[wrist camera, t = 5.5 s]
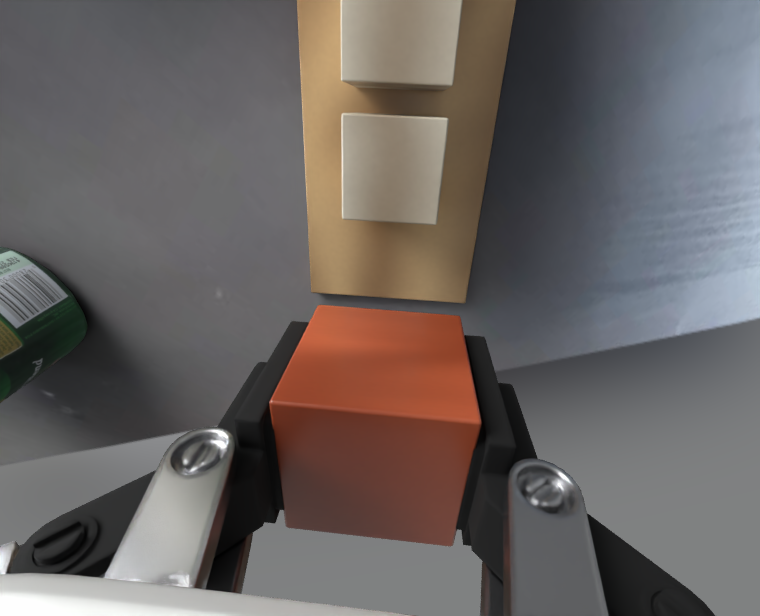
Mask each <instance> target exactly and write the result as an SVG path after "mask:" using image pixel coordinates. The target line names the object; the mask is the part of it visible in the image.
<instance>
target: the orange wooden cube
mask: <svg viewBox="0 0 760 616" xmlns="http://www.w3.org/2000/svg"><path fill="white" fill-rule="evenodd" d="M269 405H270V412H271V420H272V427H273V429H274V435H275V442H276V450H277V457H278V465H279V472H280V480H281V487H282V495H283V502H284V516H285V523H286V527H288V528H295V529H303V530H312V531H321V532H329V533H338V534H347V535H356V536H364V537H373V538H381V539H390V540H399V541H408V542H416V543H425V544H433V545H442V546H453V543H454V539H455V535H456V531H457V529H456V525H457V521H458V516H459V512H460V508H461V503H462V499H463V495H464V490H465V486H466V481H467V477H468V473H469V468H470V464H471V460H472V455H473V451H474V449H475V448H476V445H477V441H478V437H479V432H480V428H481V424H482V421H481V416H480V411H479V406H478V401H477V396H476V392H475V387H474V382H473V377H472V372H471V367H470V362H469V357H468V352H467V347H466V342H465V337H464V332H463V327H462V322H461V318H460V316H455V315H443V314H430V313H417V312H404V311H392V310H379V309H366V308H354V307H341V306H328V305H318V307H317V309H316V310H315V312H314V314H313V316H312V318H311V320H310V322H309V324H308V326H307V328H306V330H305V332H304V334H303V336H302V338H301V340H300V342H299V344H298V346H297V348H296V350H295V352H294V354H293V356H292V358H291V360H290V362H289V364H288V366H287V368H286V370H285V372H284V374H283V376H282V378H281V380H280V382H279V384H278V386H277V388H276V390H275V392H274V394H273V396H272V398H271V400H270V402H269Z"/></svg>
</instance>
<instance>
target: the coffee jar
mask: <svg viewBox="0 0 760 616" xmlns="http://www.w3.org/2000/svg"><path fill="white" fill-rule="evenodd" d="M87 327H88V326H87V322H86V319H85V315H84V313H83V311H82V309H81V308H80V306H79V304H78V303H77V301H76V299H75V297H74V295H73V294H72V293H71V292H70V290H69V289H68V288H67V287H66V286H65V285H64V284H63V283H62V282H61V281H60V280H59V279H58V278H57V277H56V276H55V275H54V274H53V273H52V272H50V271H49V270H48V269H47V268H45V267H43V266H42V265H40V264H39V263H37V262H35V261H34V260H33V259H31V258H29V257H27V256H26V255H24V254H22V253H20V252H17V251H15V250H12V249H9V248H3V247H0V403H1V402H2V401H3V400H5V399H6V398H8V397H9V396H10V395H12V394H13V393H15V392H16V391H17V390H19V389H20V388H21V387H23V386H24V385H26V384H27V383H29V382H30V381H31V380H33V379H34V378H35V377H37V376H38V375H40V374H41V373H42V372H44V371H45V370H46V369H48V368H49V367H50V366H52V365H53V364H55V363H56V362H57V361H59V360H60V359H61V358H63V357H64V356H65V355H67V354H68V353H69V352H71V351H72V350H73V349H74V348H75V347H76V346H77V345H78V344H79V343H80V342H81V341H82V340H83V338H84V337H85V334H86V331H87Z"/></svg>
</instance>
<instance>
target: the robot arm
mask: <svg viewBox="0 0 760 616" xmlns="http://www.w3.org/2000/svg"><path fill="white" fill-rule="evenodd" d="M308 324H309V323H308V322H296V321H292V322H291V323H290V325H289V326H288V328H287V330H286V331H285V333H284V335H283V336H282V338H281V340H280V342H279V343H278V345H277V347H276V348H275V350H274V352H273V353H272V355H271V357H270V358H269V360H268V362H267V363H266V362H259V363H258V364H257V365H256V366H255V367H254V369H253V371H252V372H251V374H250V375H249V377H248V379H247V380H246V382H245V383H244V385H243V387H242V388H241V390H240V391H239V393H238V395H237V396H236V398H235V399H234V401H233V402H232V404H231V406H230V407H229V409H228V410H227V412H226V414H225V415H224V417H223V418H222V420H221V422H220V423H219V425H218V426H217V427H204V428H198V429H196V430H193V431H190V432H188V433H186V434H184V435H183V436H181V437H179V438H178V439H177V440H176V441H174V443H172V444H171V445H170V447H169V448H168V449H167V451H166V452H165V454H164V456H163V458H162V460H161V462H160V464H159V466H158V468H157V470H156V471H153V472H151V473H149V474H147V475H145V476H143V477H141V478H139V479H137V480H134V481H132V482H131V483H128V484H126V485H124V486H122V487H120V488H118V489H116V490H114V491H111V492H109V493H107V494H105V495H103V496H101V497H99V498H97V499H95V500H93V501H90V502H88V503H86V504H84V505H82V506H80V507H78V508H76V509H74V510H72V511H70V512H67V513H65V514H63V515H61V516H59V517H57V518H56V519H54V520H52V521H50V522H49V523H47V524H45V525H44V526H43V527H42V528H40V529H39V530H38V531H37V532H35V533H34V534H33V535H32V536H31V537H30V538H29V539H28V540H27V541H26V542H25V543H24V544H23V545H20V546H19V545H18V544H17V542H16V541H13V542H11V543H8V544H5V545H2V546H0V616H414V615H406V614H398V613H390V612H382V611H374V610H367V609H359V608H351V607H343V606H335V605H327V604H319V603H311V602H302V601H294V600H287V599H279V598H271V597H263V596H255V595H247V594H241V593H242V588H243V583H244V578H245V573H246V568H247V563H248V557H249V552H250V547H251V542H252V536H253V532H254V531H256V530H257V529H259V528H260V527H262V526H263V524H264V522H268V523H275V522H276V519H277V517H278V513H279V511H280V510H284V502H283V495H282V487H281V480H280V472H279V465H278V457H277V450H276V442H275V435H274V429H273V427H272V420H271V412H270V405H269V402H270V400H271V398H272V396H273V394H274V392H275V390H276V388H277V386H278V384H279V382H280V380H281V378H282V376H283V374H284V372H285V370H286V368H287V366H288V364H289V362H290V360H291V358H292V356H293V354H294V352H295V350H296V348H297V346H298V344H299V342H300V340H301V338H302V336H303V334H304V332H305V330H306V328H307V326H308ZM464 337H465V342H466V347H467V352H468V357H469V362H470V367H471V372H472V377H473V382H474V387H475V392H476V396H477V401H478V406H479V411H480V416H481V421H482V424H481V428H480V432H479V437H478V441H477V445H476V448H475V449H474V451H473V455H472V460H471V464H470V468H469V473H468V477H467V481H466V486H465V490H464V495H463V499H462V503H461V508H460V512H459V516H458V521H457V525H456V529H459V530H462V539H463V545H469V546H472V551H473V552H474V553H475V554H476V555H477V556H478V557H479V558H480V559H481V560H482V561H483V562H482V581H481V604H480V616H715V615H714V614H713V612H712V611H711V610H710V609H709V608H708V607H707V605H706V604H705V603H704V602H703V601H702V600H701V599H700V598H698V597H697V596H696V595H695V594H693V592H692V591H690V590H689V589H688V588H686V587H685V586H684V585H682V584H681V583H680V582H678V581H677V580H676V579H674V578H673V577H672V576H670V575H669V574H668V573H666V572H665V571H663V570H662V569H661V568H660V567H658V566H657V565H656V564H654V563H653V562H652V561H650V560H649V559H647V558H646V557H645V556H644V555H642V554H641V553H639V552H638V551H637V550H635V549H634V548H633V547H632V546H630V545H629V544H628V543H626V542H625V541H624V540H622V539H621V538H620V537H618V536H617V535H615V534H614V533H613V532H612V531H610V530H609V529H608V528H606V527H605V526H604V525H602V524H601V523H599V522H598V521H597V520H595V519H594V518H593V517H591V516H590V515H589V514H587V512H586V507H585V503H584V498H583V496H582V493H581V490H580V488H579V486H578V485H577V483H576V482H575V481H574V480H573V478H572V477H571V476H570V475H569V474H567V473H566V472H565V471H564V470H563V469H561V468H559V467H557V466H556V465H554V464H553V463H550V462H547V461H544V460H540V459H537V455H536V452H535V449H534V447H533V444H532V441H531V438H530V435H529V432H528V429H527V426H526V423H525V420H524V417H523V414H522V411H521V408H520V405H519V403H518V400H517V397H516V394H515V391H514V388H513V386H512V385H511V384H503V383H498V381H497V378H496V374H495V371H494V367H493V364H492V360H491V357H490V354H489V350H488V347H487V343H486V340H485V337H481V336H468V335H465V336H464Z"/></svg>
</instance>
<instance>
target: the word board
mask: <svg viewBox="0 0 760 616" xmlns="http://www.w3.org/2000/svg"><path fill="white" fill-rule="evenodd" d="M515 4H516V0H297V10H298V31H299V51H300V71H301V92H302V112H303V132H304V153H305V173H306V193H307V214H308V234H309V254H310V275H311V292H313V293H327V294H341V295H355V296H369V297H384V298H398V299H412V300H426V301H440V302H455V303H465V301H466V295H467V289H468V283H469V277H470V271H471V265H472V260H473V254H474V248H475V242H476V236H477V230H478V224H479V218H480V212H481V206H482V200H483V194H484V188H485V182H486V176H487V170H488V164H489V159H490V153H491V147H492V141H493V135H494V129H495V123H496V117H497V111H498V105H499V99H500V93H501V87H502V81H503V75H504V69H505V63H506V58H507V52H508V46H509V40H510V34H511V28H512V22H513V16H514V10H515Z"/></svg>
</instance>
